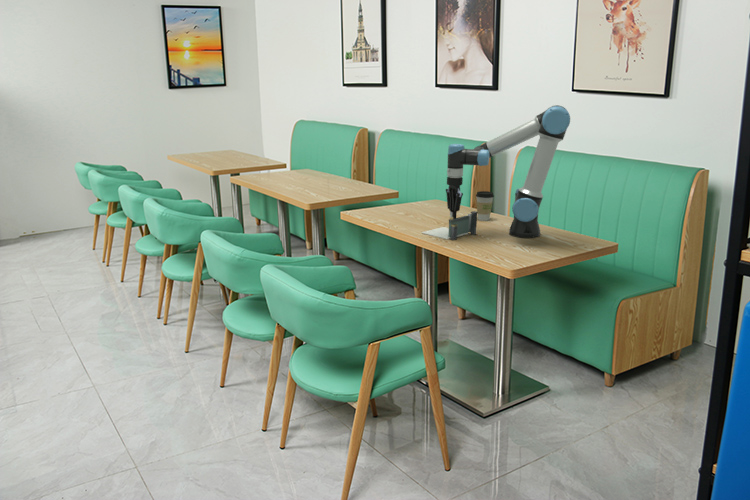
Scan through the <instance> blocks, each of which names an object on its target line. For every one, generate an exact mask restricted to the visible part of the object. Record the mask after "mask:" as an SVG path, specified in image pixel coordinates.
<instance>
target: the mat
mask: <svg viewBox="0 0 750 500" xmlns="http://www.w3.org/2000/svg"><path fill="white" fill-rule="evenodd" d="M420 233H421V234H422V233H423V234H424V235H426V234H427V235H428V236H431V237H435V238H439V239H443V240H451V237H448V235H449V227H445V226H441V227H437V228H433V229H430V230H424V231H421V232H420ZM469 234H470V232H468V233H464V234H461V235H457V238H458V237H462V236H465V235H469Z"/></svg>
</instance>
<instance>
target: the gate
mask: <svg viewBox="0 0 750 500" xmlns="http://www.w3.org/2000/svg"><path fill="white" fill-rule="evenodd" d="M452 224H457V226H458V227H457V235H461V234H464V233H470V232H471V213H467V215H464V216H460V217H456V218H454V219H453V217H450V216H449V219H448V228H449V235H448V237H451V225H452Z"/></svg>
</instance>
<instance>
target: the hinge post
mask: <svg viewBox="0 0 750 500" xmlns="http://www.w3.org/2000/svg"><path fill="white" fill-rule="evenodd" d="M470 214H471V232H469V234H470V235H471V236H476V235H477V223H478V212H477V210H476V211H475V210H474V211H470Z"/></svg>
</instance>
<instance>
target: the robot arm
mask: <svg viewBox="0 0 750 500" xmlns="http://www.w3.org/2000/svg"><path fill="white" fill-rule="evenodd" d="M570 123H571V116H570V112H569V111H568V110H567V108H566V107H565V106H562V105H556V104H555V105H552V106H550V107H548V108H547V109H545V110H544V111H543V112H540V113H539V114H537V115H536V116H535V117H534V119H532V120H530V121H528V122H525V123H523V124H521V125H520V126H517V127H515V128H513V129H511V130H510V131H509V130H508V131H507V132H505V133H503V134H501V135H498V136H496V137H494V138H493V139H491V140H488V141H486V142H485V143H482V144H481V145H477V146H475V147H474V148H465V145H464V144H463V143H462V144H461V143H451V144H449V145H448V150H447V170H446V173H447V174H446V176H447V177H446V184H447V186H448V188H445V193H446V205H447V206H446V207H447V209H448V210H449V218H450V217H453V219H454V218H457V212H460V209H461V204H462V198H463V195H464V193H463V192H462V191H461V186H462V185H463V181H464V180H463V176H464V166H480V167H482V166H483V167H484V166H485V167H486V166H489V162H490V158H492V157H494V156H497V155H498V154H501V153H503V152H505V151H507V150H510V149H511V148H513V147H516V146H518V145H520V144H522V143H525V142H527V141H528V140H530V139H531V140H532V139H533V138H535V137H537V136H539V139H538V142H537V145H536V148H535V151H534V153H533V156H532V159H531V163H530V165H529V168H528V171H527V175H526V178H525V181H524V183H523V186H522V187H520V188H516V190H515V193H514V195H515V196H514V201H513V205H512V213H513V220H512V222H511V225H510V227H509V229H508V230H509V231H508V234H509V235H510V236H512V237H515V238H521V239H536V238H539V237H540V236H541V229H540V225H539V211H540V210H539V209H540V206H541V204H542V201H543V198H544V195H543V193H542V190H543V187H544V186H545V182H546V179H547V176H548V173H549V170H550V169H551V165H552V162H553V159H554V156H555V154H556V150H557V148H558V144H559V143H560V142H561V141H563V140H564V138H565V136H566V132H567V130H568V128H569V126H570Z"/></svg>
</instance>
